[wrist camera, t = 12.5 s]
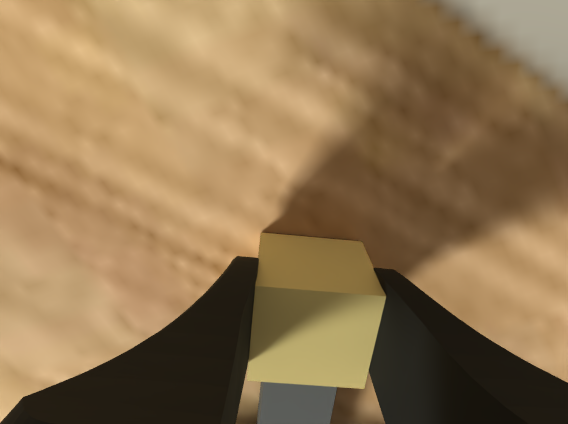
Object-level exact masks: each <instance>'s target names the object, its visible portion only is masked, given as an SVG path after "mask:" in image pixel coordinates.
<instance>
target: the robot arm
mask: <svg viewBox="0 0 568 424" xmlns="http://www.w3.org/2000/svg"><path fill="white" fill-rule="evenodd" d="M258 263H259V259H258V258H253V257H241V256H237V257H236V258H234V259H233V261H232V262H231V264H230V265H229V266H228V268H227V269H226V270H225V271H224V273H223V274H222V275H221V276H220V277H219V279H218V280H217V281H216V282H215V283H214V284H213V285H212V286H211V287H210V288H209V289H208V291H207V292H206V293H205V294H204V295H203V296H201V297H200V298H199V299H198V300H197V301H196V302H195V303H194V304H193V305H192V306H191V307H190V308H189V309H187V310H186V311H185V312H184V313H183V314H182V315H180V316H179V317H178V318H177V319H175V320H174V321H173V322H171V323H170V324H169V325H167V326H166V327H165V328H163V329H162V330H161V331H159V332H158V333H156V334H155V335H153V336H151V337H150V338H148V339H146V340H145V341H143V342H142V343H140V344H138V345H137V346H135V347H134V348H132V349H130V350H128V351H127V352H125V353H123V354H121V355H119V356H117V357H115V358H113V359H112V360H110V361H108V362H105V363H103V364H101V365H99V366H97V367H95V368H93V369H91V370H89V371H87V372H84V373H82V374H80V375H78V376H75V377H73V378H70V379H68V380H66V381H63V382H61V383H58V384H56V385H53V386H51V387H48V388H46V389H43V390H41V391H38V392H36V393H33V394H31V395H28V396H25V397H23V398H22V399H21V400H20V401H19V403H18V404H17V405H16V406H15V407H14V408H13V409H12V410H11V412H10V413H9V414H8V415H7V416H6V417H5V418H4V419H3V420H2V422H1V423H0V424H235V423H236V418H237V413H238V408H239V403H240V399H241V394H242V389H243V384H244V379H245V375H246V370H247V365H248V360H249V351H250V339H251V328H252V317H253V305H254V294H255V283H256V279H257V273H258ZM373 269H374V272H375V274H376V276H377V278H378V281H379V283H380V285H381V287H382V289H383V291H384V292H385V295H386V300H385V304H384V308H383V312H382V317H381V321H380V325H379V329H378V333H377V337H376V342H375V346H374V350H373V354H372V358H371V362H370V366H369V373H370V376H371V379H372V383H373V386H374V389H375V392H376V395H377V398H378V402H379V405H380V408H381V411H382V414H383V418H384V421H385V424H568V383H567V382H565V381H563V380H561V379H559V378H557V377H555V376H553V375H551V374H549V373H547V372H545V371H544V370H542V369H540V368H538V367H536V366H534V365H532V364H530V363H528V362H527V361H525V360H523V359H521V358H519V357H518V356H516V355H514V354H513V353H511V352H509V351H508V350H506V349H504V348H502V347H501V346H499V345H497V344H496V343H494V342H492V341H491V340H489V339H488V338H486V337H485V336H483V335H482V334H480V333H479V332H477V331H476V330H474V329H473V328H471V327H470V326H468V325H467V324H466V323H464V322H463V321H461V320H460V319H458V318H457V317H456V316H454V315H453V314H452V313H450V312H449V311H447V310H446V309H445V308H443V307H442V306H441V305H440V304H438V303H437V302H436V301H434V300H433V299H432V298H431V297H429V296H428V295H427V294H425V293H424V292H423V291H422V290H420V289H419V288H418V287H417V286H415V285H414V284H413V283H412V282H410V281H409V280H408V279H406V278H405V277H404V276H402V275H401V274H400V273H398V272H397V271H395V270H393V269H381V268H373Z"/></svg>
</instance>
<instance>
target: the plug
mask: <svg viewBox="0 0 568 424" xmlns="http://www.w3.org/2000/svg"><path fill="white" fill-rule="evenodd" d="M258 259H259V263H258V273H257V279H256V283H255V294H254V305H253V317H252V328H251V339H250V351H249V362H248V373H247V381H258V382H261V387H260V397H259V406H258V415H257V424H330V420H331V415H332V410H333V405H334V400H335V396H336V391H337V387H344V388H358V389H364V387H365V383H366V379H367V375H368V371H369V366H370V362H371V358H372V354H373V350H374V346H375V342H376V337H377V333H378V329H379V325H380V321H381V317H382V312H383V308H384V304H385V300H386V295H385V292H384V291H383V289H382V287H381V285H380V283H379V281H378V278H377V276H376V274H375V272H374V269H373V265H372V263H371V261H370V259H369V256H368V254H367V252H366V250H365V247H364V245H363V243H362V241H351V240H340V239H329V238H317V237H306V236H295V235H284V234H272V233H261V236H260V245H259V255H258Z"/></svg>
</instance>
